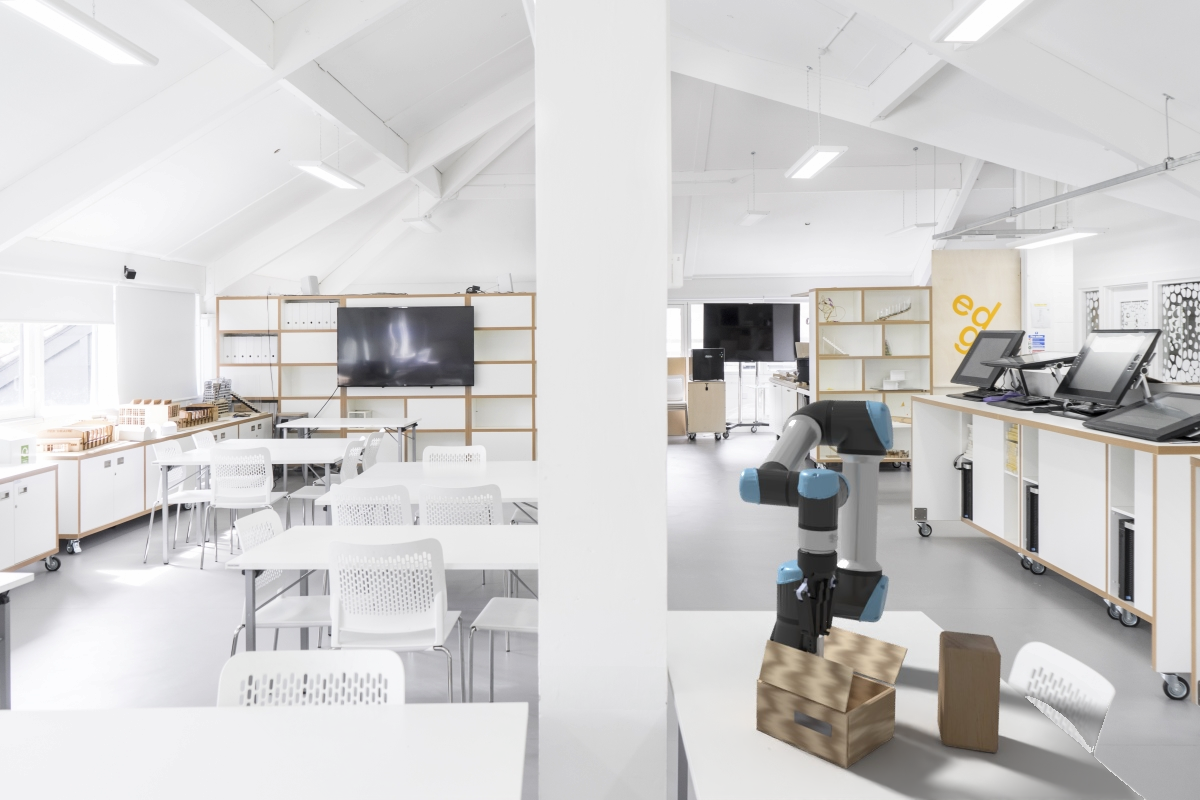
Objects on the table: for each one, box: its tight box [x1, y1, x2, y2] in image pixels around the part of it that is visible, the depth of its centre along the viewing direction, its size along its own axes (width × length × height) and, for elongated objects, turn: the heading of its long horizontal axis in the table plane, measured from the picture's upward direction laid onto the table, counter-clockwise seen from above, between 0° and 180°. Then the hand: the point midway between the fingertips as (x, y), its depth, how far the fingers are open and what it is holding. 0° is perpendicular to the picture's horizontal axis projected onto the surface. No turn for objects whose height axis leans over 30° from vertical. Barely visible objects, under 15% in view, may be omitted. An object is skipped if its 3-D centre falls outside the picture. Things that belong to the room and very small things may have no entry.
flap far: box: [824, 625, 908, 686], centre depth 162 cm, size 19×1×8 cm
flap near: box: [758, 639, 855, 712], centre depth 149 cm, size 19×1×8 cm, turn 42°
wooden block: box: [936, 630, 1002, 754], centre depth 152 cm, size 10×10×20 cm
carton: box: [755, 673, 897, 770], centre depth 154 cm, size 21×18×10 cm
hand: (815, 667), depth 151 cm, fingers closed
